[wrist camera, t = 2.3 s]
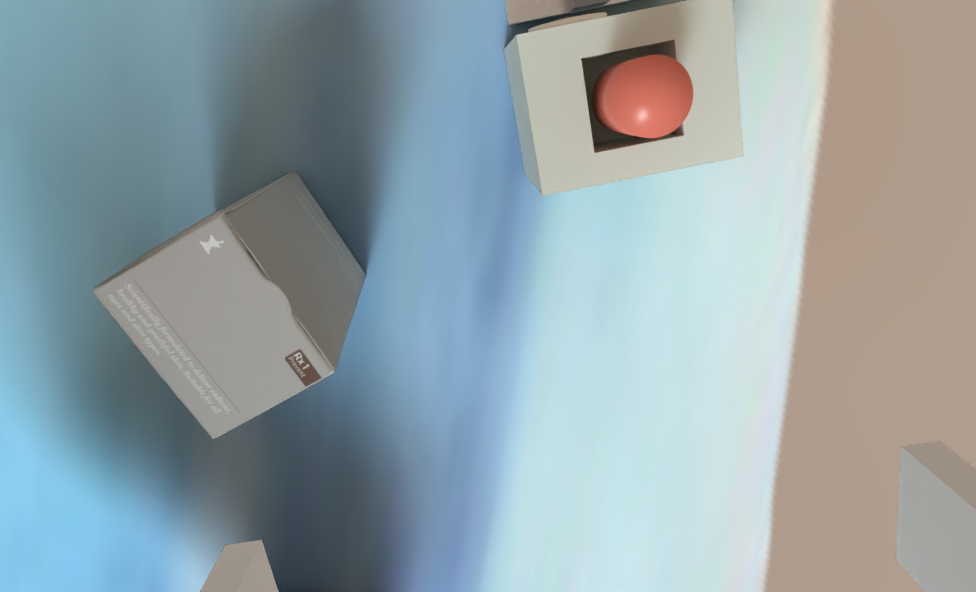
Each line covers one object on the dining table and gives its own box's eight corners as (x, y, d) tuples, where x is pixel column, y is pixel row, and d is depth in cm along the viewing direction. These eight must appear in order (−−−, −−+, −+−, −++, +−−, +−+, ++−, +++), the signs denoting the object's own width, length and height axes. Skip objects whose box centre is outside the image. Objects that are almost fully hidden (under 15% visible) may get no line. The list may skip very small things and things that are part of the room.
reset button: (596, 138, 33) (619, 145, 28) (586, 69, 32) (608, 63, 27) (662, 125, 32) (696, 129, 28) (654, 55, 32) (689, 47, 27)
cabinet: (525, 175, 40) (542, 195, 32) (501, 39, 38) (513, 20, 29) (682, 144, 40) (743, 156, 31) (669, 5, 38) (730, -23, 29)
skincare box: (212, 218, 40) (62, 289, 25) (308, 161, 39) (213, 199, 24) (290, 328, 42) (195, 454, 27) (382, 276, 42) (337, 376, 27)
